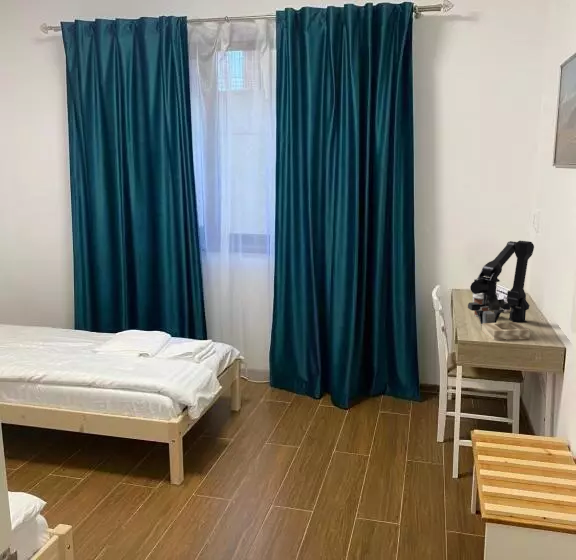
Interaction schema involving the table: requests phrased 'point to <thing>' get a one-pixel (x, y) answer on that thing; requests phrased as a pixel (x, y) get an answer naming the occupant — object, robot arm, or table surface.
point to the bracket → (488, 317)
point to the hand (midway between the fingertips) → (488, 323)
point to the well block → (505, 331)
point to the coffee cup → (479, 301)
